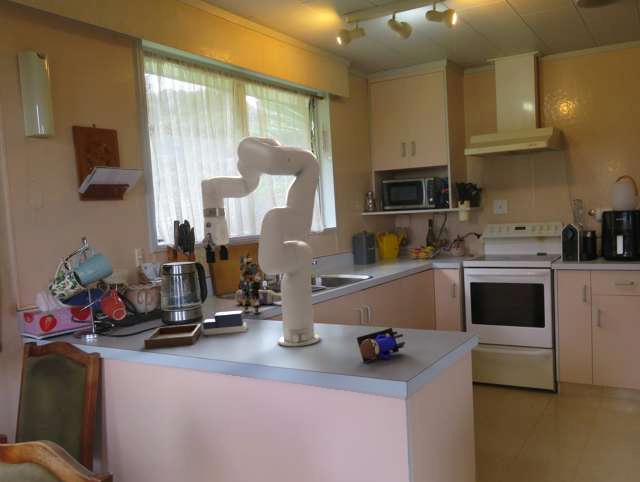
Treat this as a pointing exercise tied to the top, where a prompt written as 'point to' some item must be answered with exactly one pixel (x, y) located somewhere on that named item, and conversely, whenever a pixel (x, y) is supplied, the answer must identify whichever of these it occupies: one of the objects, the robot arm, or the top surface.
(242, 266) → the toy
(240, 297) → the decorative bottle
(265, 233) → the robot arm
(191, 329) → the tray
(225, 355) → the top surface
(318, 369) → the top surface
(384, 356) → the character figurine
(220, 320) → the navy stepped block
